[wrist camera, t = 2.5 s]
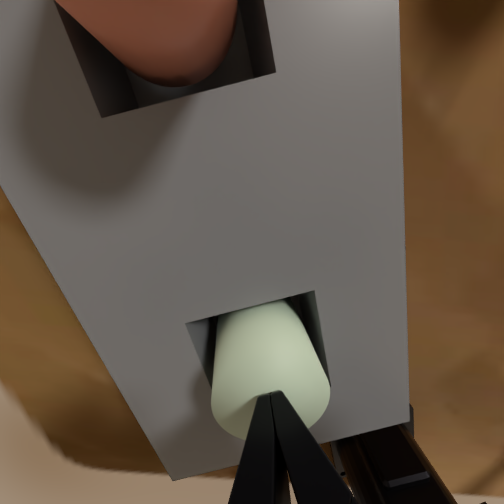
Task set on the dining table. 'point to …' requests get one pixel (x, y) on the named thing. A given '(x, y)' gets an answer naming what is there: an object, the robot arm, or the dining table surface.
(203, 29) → the terracotta plug
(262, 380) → the sage plug
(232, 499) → the robot arm
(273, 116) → the console
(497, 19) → the dining table surface
